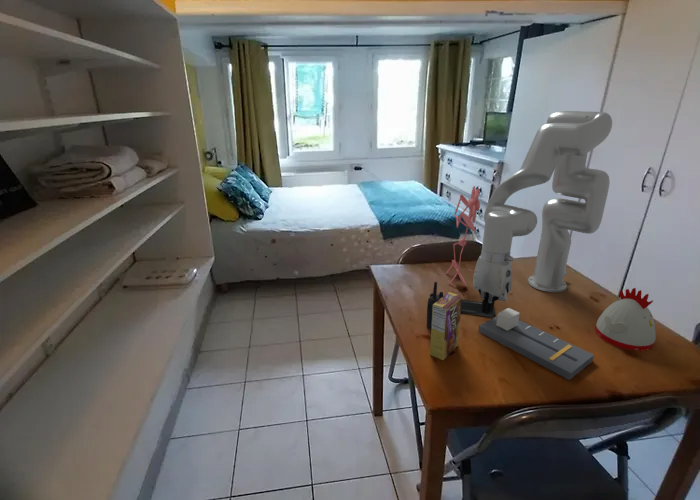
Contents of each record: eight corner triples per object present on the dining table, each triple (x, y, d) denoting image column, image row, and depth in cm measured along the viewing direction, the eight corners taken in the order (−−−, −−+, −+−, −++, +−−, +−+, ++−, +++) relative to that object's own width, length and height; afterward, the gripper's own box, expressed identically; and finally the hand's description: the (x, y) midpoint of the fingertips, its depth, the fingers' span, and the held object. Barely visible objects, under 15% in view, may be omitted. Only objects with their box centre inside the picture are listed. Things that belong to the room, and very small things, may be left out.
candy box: (444, 339, 109) (448, 291, 103) (458, 345, 106) (464, 296, 101) (428, 354, 103) (432, 303, 97) (442, 361, 100) (448, 309, 94)
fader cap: (506, 319, 114) (508, 307, 113) (517, 325, 111) (519, 312, 110) (496, 325, 111) (498, 313, 110) (507, 330, 109) (509, 318, 107)
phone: (446, 297, 131) (494, 303, 126) (446, 300, 131) (493, 306, 127) (445, 308, 123) (495, 315, 119) (444, 311, 124) (494, 318, 120)
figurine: (449, 295, 133) (462, 195, 121) (441, 265, 157) (451, 179, 144) (495, 298, 132) (513, 197, 119) (480, 267, 156) (493, 180, 143)
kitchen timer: (632, 356, 102) (647, 306, 96) (584, 329, 114) (595, 283, 108) (664, 343, 107) (681, 295, 102) (615, 319, 119) (628, 274, 113)
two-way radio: (429, 331, 113) (433, 284, 108) (421, 323, 117) (424, 278, 111) (445, 327, 115) (450, 281, 109) (437, 319, 119) (441, 275, 113)
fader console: (502, 318, 119) (503, 312, 119) (592, 361, 100) (594, 354, 99) (478, 331, 113) (479, 324, 112) (569, 380, 93) (571, 372, 92)
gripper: (527, 260, 106) (516, 318, 113) (481, 244, 117) (474, 298, 124) (511, 267, 102) (501, 327, 108) (465, 250, 113) (458, 305, 120)
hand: (487, 311), depth 116 cm, fingers closed
